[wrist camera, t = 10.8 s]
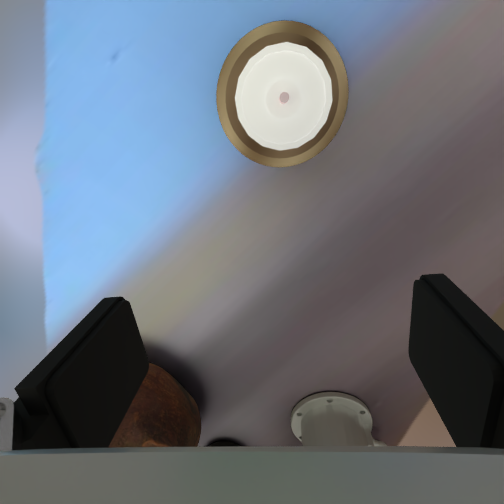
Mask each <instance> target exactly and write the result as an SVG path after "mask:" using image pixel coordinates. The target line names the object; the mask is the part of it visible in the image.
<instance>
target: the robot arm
mask: <svg viewBox="0 0 504 504" xmlns="http://www.w3.org/2000/svg"><path fill="white" fill-rule="evenodd" d="M409 357H410V361H411V363H412V365H413V367H414V368H415V370H416V372H417V374H418V376H419V378H420V380H421V381H422V383H423V385H424V387H425V389H426V391H427V393H428V395H429V396H430V398H431V400H432V402H433V404H434V406H435V408H436V409H437V411H438V413H439V415H440V417H441V419H442V421H443V422H444V424H445V426H446V428H447V430H448V432H449V434H450V435H451V437H452V439H453V441H454V443H455V445H456V447H417V446H416V447H415V446H387V445H386V443H384V442H381V441H379V440H374V439H373V437H372V435H371V429H372V418H371V414H370V412H369V409H368V408H367V406H366V405H365V404H364V403H363V402H362V401H360V400H359V399H357V398H355V397H353V396H351V395H348V394H344V393H339V392H322V393H318V394H314V395H311V396H308V397H307V398H305V399H303V400H302V401H300V402H299V403H298V404H297V405H296V406H295V408H294V409H293V411H292V413H291V428H292V431H293V433H294V435H295V436H296V437H297V438H298V439H299V440H300V441H301V442H302V446H239V447H124V448H108V447H109V445H110V443H111V441H112V439H113V437H114V435H115V433H116V432H117V430H118V428H119V426H120V424H121V422H122V420H123V418H124V416H125V414H126V413H127V411H128V409H129V407H130V405H131V403H132V401H133V399H134V397H135V395H136V394H137V392H138V390H139V388H140V386H141V384H142V382H143V380H144V378H145V376H146V375H147V373H148V370H149V360H148V357H147V354H146V351H145V348H144V345H143V342H142V339H141V336H140V333H139V330H138V327H137V323H136V320H135V317H134V314H133V311H132V308H131V305H130V303H129V301H127V300H125V299H124V298H123V297H109V298H104V299H102V300H101V301H100V302H99V303H98V304H97V305H96V307H95V308H94V309H93V310H92V311H91V312H90V313H89V314H88V315H87V316H86V317H85V318H84V319H83V320H82V321H81V322H80V323H79V324H78V325H77V326H76V327H75V328H74V329H73V330H72V331H71V332H70V333H69V334H68V335H67V336H66V337H65V338H64V339H63V340H62V341H61V342H60V343H59V344H58V345H57V346H56V347H55V348H54V349H53V350H52V351H51V352H50V353H49V354H48V355H47V356H46V357H45V358H44V359H43V360H42V361H41V362H40V363H39V364H38V365H37V366H36V367H35V368H34V369H33V370H32V371H31V372H30V373H29V374H28V375H27V376H26V377H25V378H24V379H23V380H22V381H21V382H20V383H19V384H18V385H17V386H16V387H15V390H16V392H17V394H18V396H19V398H18V399H17V400H16V401H15V402H13V401H12V400H11V399H9V398H0V504H504V331H503V330H502V329H501V328H500V327H499V326H498V325H497V324H496V323H495V322H494V321H493V320H492V319H491V318H490V317H489V316H488V315H487V314H486V313H484V312H483V311H482V310H481V309H480V308H479V307H478V306H477V305H476V304H475V303H474V302H473V301H472V300H471V299H470V298H469V297H468V296H467V295H466V294H464V293H463V292H462V291H461V290H460V289H459V288H458V287H457V286H456V285H455V284H454V283H453V282H452V281H451V280H450V279H449V278H448V277H447V276H445V275H444V274H429V275H422V276H421V277H420V280H415V282H414V286H413V299H412V312H411V325H410V337H409Z"/></svg>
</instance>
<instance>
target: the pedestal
mask: <svg viewBox="0 0 504 504" xmlns="http://www.w3.org/2000/svg"><path fill="white" fill-rule="evenodd" d="M284 42H289V43H293V44H297V45H301V46H305V47H307V48H308V49H309V50H311V51H312V52H313V53H314V54H315V55H316V56H318V57H319V58H320V59H321V60H322V61H323V63H324V65H325V68H326V70H327V72H328V74H329V76H330V78H331V85H332V104H331V108H330V111H329V114H328V117H327V121H326V123H325V124H324V125H323V126H322V128H321V129H320V130H319V132H318V133H317V134H316V136H315V137H314V138H313V139H311V140H309V141H308V142H306V143H305V144H303V145H301V146H300V147H298V148H293V149H287V150H281V151H279V150H275V149H271V148H267V147H263V146H261V145H260V144H259V143H258V142H256V141H255V140H254V139H252V138H251V137H250V136H248V134H247V133H246V131H245V129H244V128H243V126H242V124H241V122H240V121H239V119H238V114H237V109H236V103H235V94H236V89H237V83H238V78H239V76H240V74H241V73H242V71H243V69H244V68H245V66H246V64H247V63H248V61H249V59H250V58H252V57H253V56H254V55H256V54H257V53H258V52H260V51H261V50H262V49H264V48H265V47H266V46H270V45H274V44H279V43H284ZM347 102H348V79H347V74H346V69H345V66H344V63H343V61H342V59H341V57H340V55H339V53H338V51H337V50H336V48H335V47H334V45H333V44H332V43H331V42H330V40H329V39H328V38H327V37H326V36H324V35H323V34H322V33H321V32H319V31H318V30H316V29H315V28H313V27H311V26H309V25H306V24H303V23H300V22H295V21H274V22H270V23H267V24H264V25H261V26H259V27H257V28H255V29H253V30H252V31H250V32H249V33H247V34H246V35H245V36H244V37H243V38H241V39H240V40H239V41H238V42H237V44H236V45H235V46H234V47H233V48H232V50H231V51H230V53H229V54H228V56H227V58H226V60H225V62H224V64H223V66H222V69H221V72H220V75H219V79H218V84H217V110H218V115H219V119H220V122H221V125H222V127H223V130H224V132H225V133H226V135H227V137H228V138H229V140H230V141H231V143H232V144H233V145H234V146H235V148H236V149H237V150H238V151H240V152H241V153H242V154H243V155H244V156H246V157H247V158H249V159H251V160H252V161H254V162H256V163H259V164H262V165H266V166H271V167H289V166H294V165H297V164H300V163H303V162H305V161H307V160H309V159H311V158H313V157H314V156H316V155H317V154H319V153H320V152H321V151H322V150H323V149H324V148H325V147H326V146H327V145H328V144H329V143H330V142H331V140H332V139H333V138H334V136H335V135H336V133H337V131H338V130H339V128H340V126H341V124H342V121H343V119H344V116H345V112H346V108H347Z"/></svg>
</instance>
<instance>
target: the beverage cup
mask: <svg viewBox="0 0 504 504" xmlns="http://www.w3.org/2000/svg"><path fill="white" fill-rule="evenodd" d="M235 103H236V109H237V114H238V119H239V121H240V122H241V124H242V126H243V128H244V129H245V131H246V133H247V134H248V136H250V137H251V138H252V139H254V140H255V141H256V142H258V143H259V144H260V145H261V146H263V147H267V148H271V149H275V150H279V151H281V150H287V149H293V148H298V147H300V146H301V145H303V144H305V143H306V142H308V141H309V140H311V139H313V138H314V137H315V136H316V134H317V133H318V132H319V130H320V129H321V128H322V126H323V125H324V124H325V123H326V121H327V117H328V114H329V111H330V108H331V104H332V85H331V78H330V76H329V74H328V72H327V70H326V68H325V65H324V63H323V61H322V60H321V59H320V58H319V57H318V56H316V55H315V54H314V53H313V52H312V51H311V50H309V49H308V48H307V47H305V46H301V45H297V44H293V43H289V42H284V43H279V44H274V45H270V46H266V47H265V48H264V49H262V50H261V51H260V52H258V53H257V54H256V55H254V56H253V57H252V58H250V59H249V61H248V63H247V64H246V66H245V68H244V69H243V71H242V73H241V74H240V76H239V78H238V83H237V89H236V94H235Z"/></svg>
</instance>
